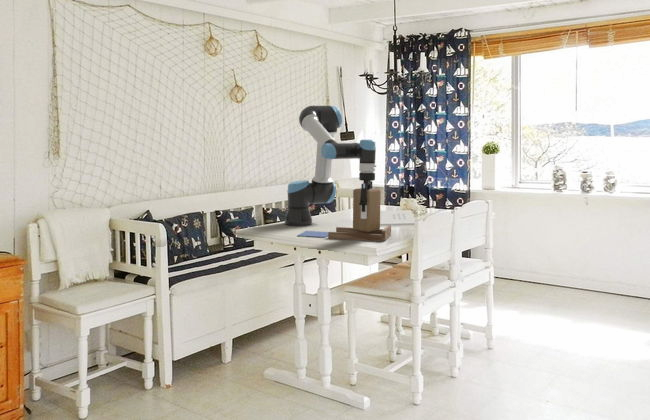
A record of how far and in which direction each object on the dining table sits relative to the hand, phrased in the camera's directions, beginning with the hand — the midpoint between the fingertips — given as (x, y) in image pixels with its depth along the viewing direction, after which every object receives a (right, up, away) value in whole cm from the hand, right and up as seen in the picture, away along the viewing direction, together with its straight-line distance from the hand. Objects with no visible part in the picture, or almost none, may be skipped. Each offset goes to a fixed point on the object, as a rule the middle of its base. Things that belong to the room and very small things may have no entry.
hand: (366, 216), depth 307 cm
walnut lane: (-4, -10, +2) cm, 11 cm away
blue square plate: (-25, -9, +8) cm, 28 cm away
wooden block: (0, -7, +1) cm, 7 cm away
